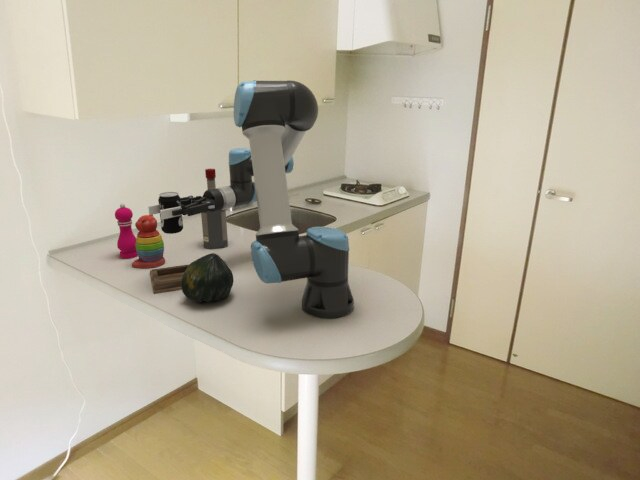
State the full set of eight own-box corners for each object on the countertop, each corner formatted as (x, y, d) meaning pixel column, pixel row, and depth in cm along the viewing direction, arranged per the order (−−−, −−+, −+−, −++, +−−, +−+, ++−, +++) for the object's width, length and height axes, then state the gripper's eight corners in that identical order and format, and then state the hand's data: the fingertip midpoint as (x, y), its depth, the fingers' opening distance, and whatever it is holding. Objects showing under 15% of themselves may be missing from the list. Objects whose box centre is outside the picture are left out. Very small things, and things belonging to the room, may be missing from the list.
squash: (168, 279, 146) (184, 251, 137) (209, 267, 157) (227, 241, 147) (189, 319, 142) (207, 293, 133) (230, 304, 153) (250, 279, 143)
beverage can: (177, 235, 150) (173, 197, 146) (157, 233, 151) (153, 195, 147) (187, 228, 156) (183, 192, 152) (168, 227, 157) (164, 191, 153)
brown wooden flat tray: (206, 285, 155) (206, 277, 154) (154, 293, 149) (153, 285, 148) (197, 266, 171) (197, 258, 170) (150, 272, 165) (149, 265, 164)
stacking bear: (148, 256, 180) (142, 210, 174) (172, 259, 177) (167, 212, 171) (129, 267, 170) (122, 218, 164) (154, 270, 167) (148, 220, 161)
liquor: (226, 240, 197) (221, 166, 187) (228, 247, 189) (223, 171, 179) (203, 242, 195) (197, 167, 185) (204, 249, 187) (198, 172, 177)
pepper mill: (122, 260, 176) (115, 207, 169) (116, 255, 181) (108, 203, 175) (142, 256, 180) (135, 203, 174) (135, 251, 185) (128, 200, 179)
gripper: (236, 215, 158) (173, 231, 142) (203, 205, 171) (141, 218, 155) (235, 193, 156) (170, 206, 140) (201, 184, 168) (138, 195, 153)
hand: (155, 212), depth 148 cm, fingers closed on beverage can, 6 cm apart
